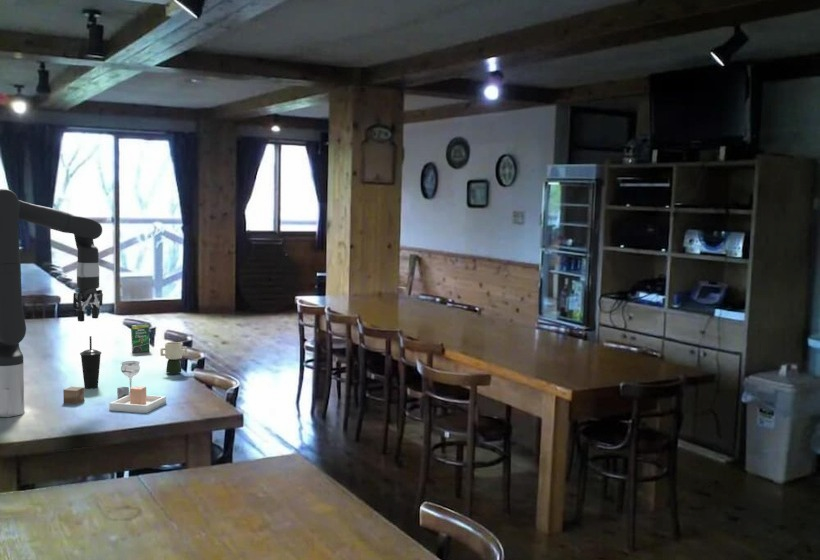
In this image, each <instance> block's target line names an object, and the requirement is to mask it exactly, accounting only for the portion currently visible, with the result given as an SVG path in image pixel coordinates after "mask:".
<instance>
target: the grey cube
mask: <svg viewBox="0 0 820 560" xmlns="http://www.w3.org/2000/svg"><path fill="white" fill-rule="evenodd" d="M129 392H130V386H119V387H117V392H116V393H117V396H116V398H117V399H116V400H118V399H120V398H122V397H125V396H127V395H129Z"/></svg>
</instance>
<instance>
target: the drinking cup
mask: <svg viewBox="0 0 820 560" xmlns="http://www.w3.org/2000/svg"><path fill="white" fill-rule="evenodd" d="M92 341H93V339H92V336H90V335H89V349H86V350H83V351H81V352H80V353H79V355H80V359H81V367H82V377H83V385H84V386H83V387H84V389H88V390H91V388H93V389H97V388H98V387H99V381H100V380H99V378H100V377H99V375H100V365H101V356H102V355H101V354H102V351H101V350H98V349H94V348H92Z"/></svg>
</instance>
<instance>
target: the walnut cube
mask: <svg viewBox="0 0 820 560" xmlns="http://www.w3.org/2000/svg"><path fill="white" fill-rule="evenodd" d="M62 393H63V404H67V405H68V404H69V405H78V404H81V403H83V402H85V387H84V386H70V387H67V388H65V389H63V391H62Z"/></svg>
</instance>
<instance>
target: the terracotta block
mask: <svg viewBox="0 0 820 560" xmlns="http://www.w3.org/2000/svg"><path fill="white" fill-rule="evenodd" d="M129 392H130V404H139V405H144V404H146V395H147V386H140V385H139V386H138V385H137V386H136V385H135V386H133V387H131V388H130V387H129Z"/></svg>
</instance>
